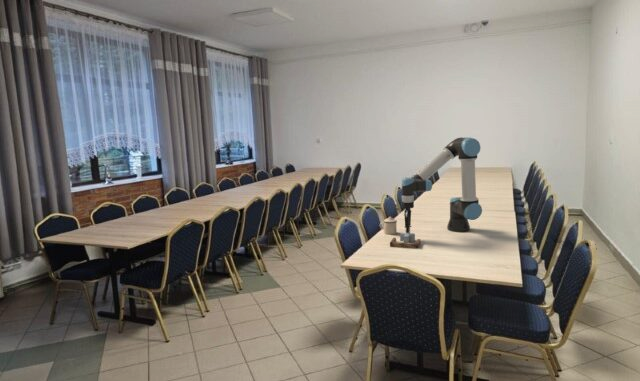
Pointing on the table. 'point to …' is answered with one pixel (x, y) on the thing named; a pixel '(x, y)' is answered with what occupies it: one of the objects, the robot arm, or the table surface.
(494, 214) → the table surface
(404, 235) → the slate t block
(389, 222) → the teacup with lid
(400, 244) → the walnut bay
